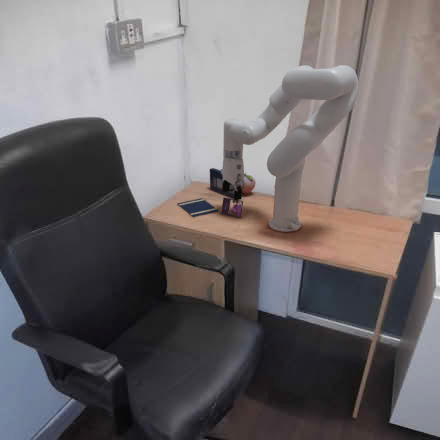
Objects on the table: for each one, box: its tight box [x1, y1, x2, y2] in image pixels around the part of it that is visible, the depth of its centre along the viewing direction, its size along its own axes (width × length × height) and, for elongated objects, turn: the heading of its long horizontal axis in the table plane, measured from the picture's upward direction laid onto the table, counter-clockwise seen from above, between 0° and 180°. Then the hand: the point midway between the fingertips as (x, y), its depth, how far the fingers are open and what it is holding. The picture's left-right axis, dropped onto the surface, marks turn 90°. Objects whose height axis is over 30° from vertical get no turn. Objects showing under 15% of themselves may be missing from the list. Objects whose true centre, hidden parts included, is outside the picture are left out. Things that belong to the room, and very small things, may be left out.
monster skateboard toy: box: [220, 197, 244, 218], centre depth 174 cm, size 7×5×9 cm
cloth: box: [177, 197, 219, 218], centre depth 181 cm, size 16×12×1 cm
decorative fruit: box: [242, 172, 256, 195], centre depth 191 cm, size 9×8×10 cm
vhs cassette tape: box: [209, 167, 239, 199], centre depth 192 cm, size 18×3×10 cm, turn 40°
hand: (231, 195), depth 171 cm, fingers open, 9 cm apart
